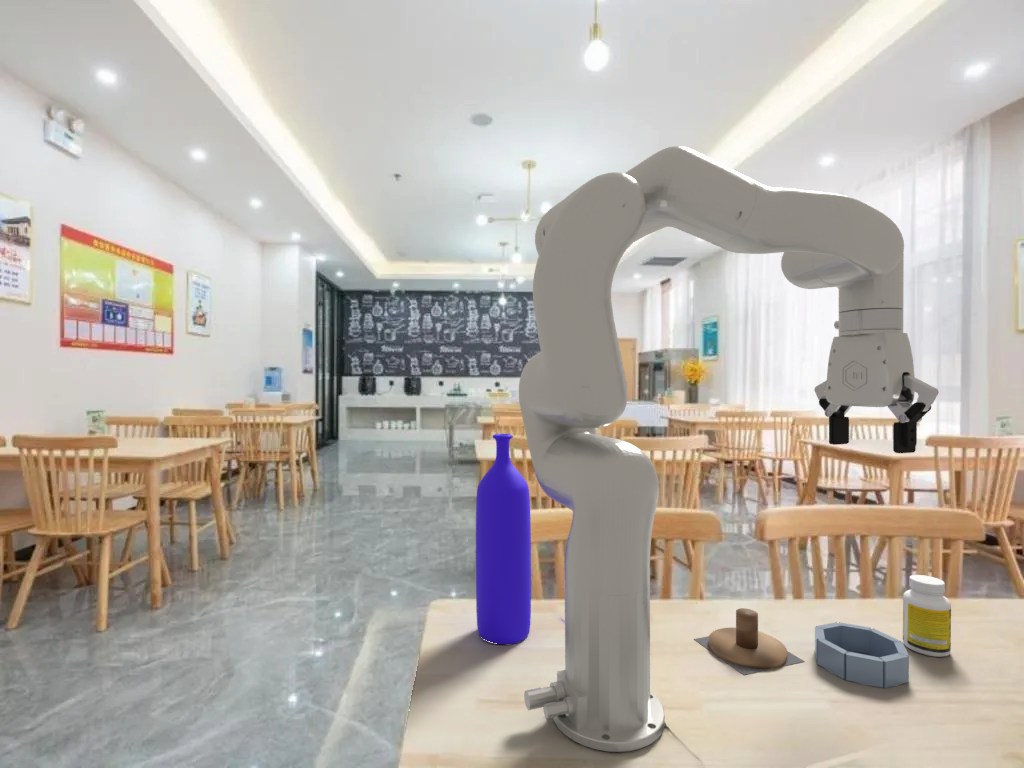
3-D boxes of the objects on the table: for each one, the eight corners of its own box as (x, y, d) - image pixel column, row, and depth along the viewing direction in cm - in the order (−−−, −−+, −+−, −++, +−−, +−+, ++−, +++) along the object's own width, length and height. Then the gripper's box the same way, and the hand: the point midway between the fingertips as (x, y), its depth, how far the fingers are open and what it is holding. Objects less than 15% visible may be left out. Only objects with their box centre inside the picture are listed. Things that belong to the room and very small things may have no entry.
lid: (743, 675, 69) (743, 634, 69) (693, 639, 79) (693, 603, 79) (804, 661, 72) (804, 622, 72) (749, 628, 82) (749, 594, 82)
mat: (743, 679, 69) (743, 674, 69) (693, 643, 79) (693, 639, 79) (804, 665, 72) (804, 661, 72) (749, 632, 82) (749, 628, 82)
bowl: (866, 699, 65) (866, 666, 65) (798, 658, 75) (798, 629, 74) (925, 684, 68) (925, 652, 68) (852, 646, 78) (852, 619, 78)
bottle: (541, 629, 83) (540, 433, 83) (512, 652, 76) (511, 438, 76) (496, 616, 88) (495, 430, 87) (465, 637, 81) (463, 435, 80)
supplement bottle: (959, 660, 74) (960, 588, 73) (914, 656, 75) (915, 585, 75) (937, 641, 79) (937, 573, 79) (895, 637, 80) (895, 571, 80)
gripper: (798, 329, 83) (798, 442, 83) (913, 317, 66) (913, 458, 66) (836, 330, 85) (835, 440, 85) (956, 319, 69) (956, 455, 69)
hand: (869, 448), depth 76 cm, fingers open, 9 cm apart
